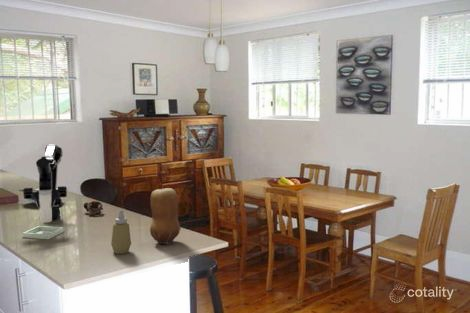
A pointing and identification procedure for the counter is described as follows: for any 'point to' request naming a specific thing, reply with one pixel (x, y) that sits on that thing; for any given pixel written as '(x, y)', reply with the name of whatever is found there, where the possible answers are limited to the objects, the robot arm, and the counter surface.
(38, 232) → the tray
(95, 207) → the pottery mug
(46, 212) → the cylinder
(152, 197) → the butternut squash
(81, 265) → the counter surface
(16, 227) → the counter surface
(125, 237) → the squeeze bottle
